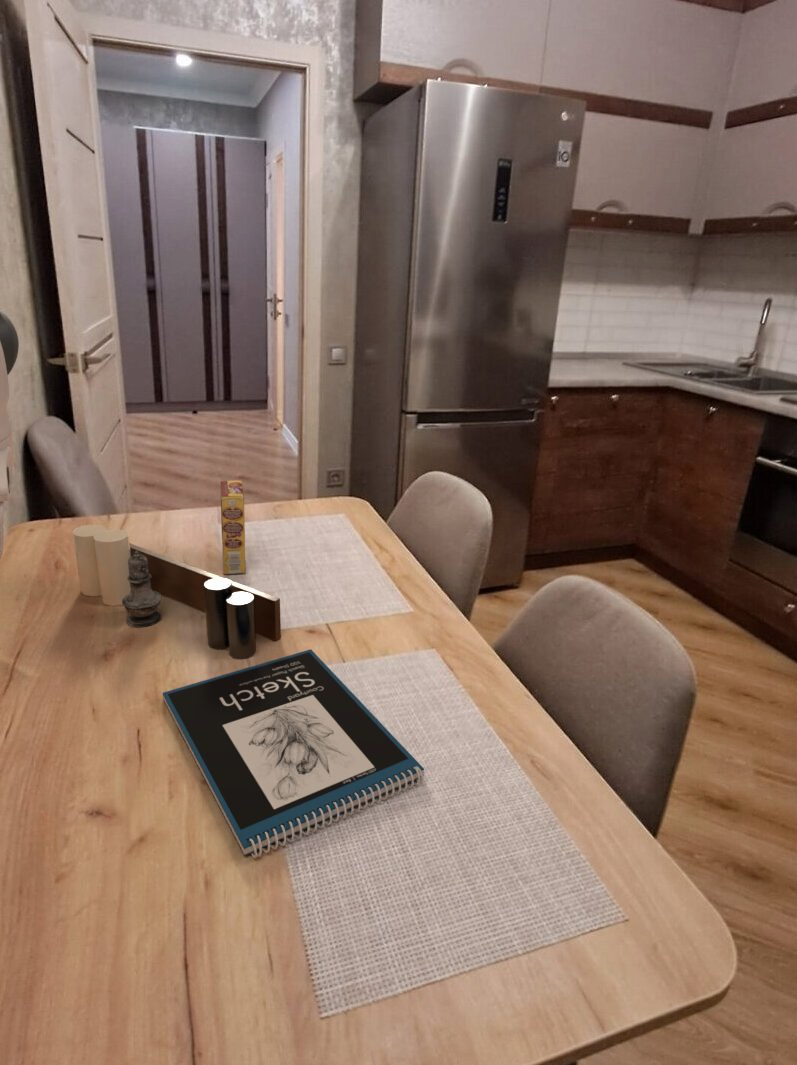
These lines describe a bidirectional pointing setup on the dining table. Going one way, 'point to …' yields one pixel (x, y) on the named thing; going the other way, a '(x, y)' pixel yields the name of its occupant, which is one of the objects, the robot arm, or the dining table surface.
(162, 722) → the dining table surface
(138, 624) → the dark grey upright piece
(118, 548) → the cream shakers
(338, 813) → the sketchbook
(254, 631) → the dark metal shakers
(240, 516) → the candy box
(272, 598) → the brown wooden board
